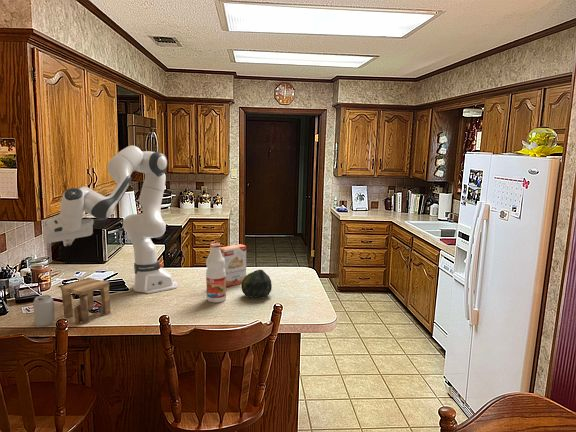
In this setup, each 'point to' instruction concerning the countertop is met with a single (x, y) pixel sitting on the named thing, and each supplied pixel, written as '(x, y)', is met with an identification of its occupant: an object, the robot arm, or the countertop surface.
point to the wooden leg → (85, 312)
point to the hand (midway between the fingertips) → (67, 244)
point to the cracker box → (234, 263)
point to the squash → (256, 284)
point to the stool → (87, 289)
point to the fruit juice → (215, 275)
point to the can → (44, 310)
